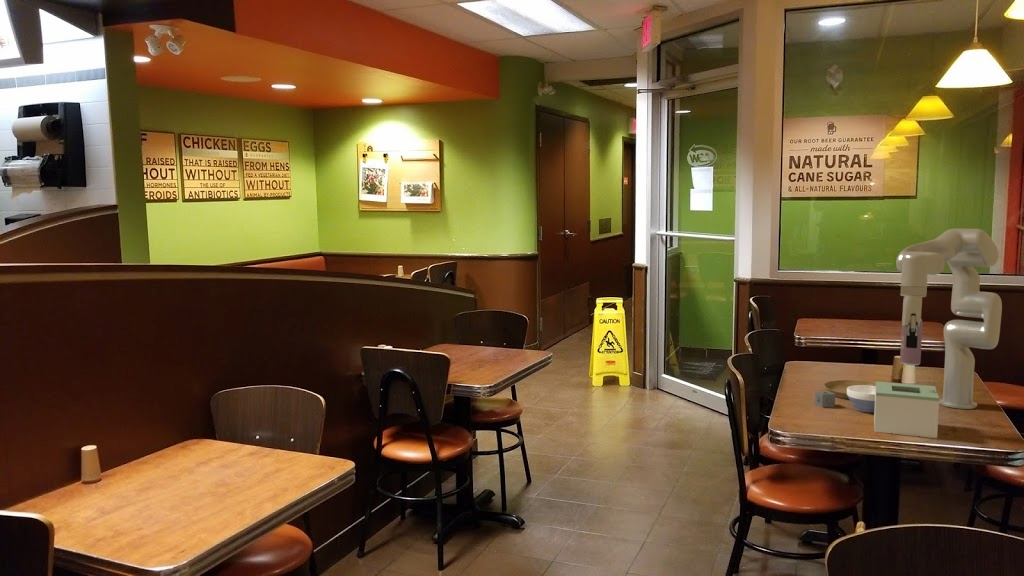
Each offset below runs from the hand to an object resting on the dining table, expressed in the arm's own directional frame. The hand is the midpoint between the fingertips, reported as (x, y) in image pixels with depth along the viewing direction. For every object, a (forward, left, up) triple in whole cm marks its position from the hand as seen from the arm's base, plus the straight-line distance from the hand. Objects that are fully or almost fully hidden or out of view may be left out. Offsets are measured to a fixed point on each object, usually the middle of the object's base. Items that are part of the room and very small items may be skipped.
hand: (910, 345), depth 255 cm
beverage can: (0, 0, -6) cm, 6 cm away
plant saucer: (-44, -16, -28) cm, 54 cm away
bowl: (-20, -12, -28) cm, 36 cm away
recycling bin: (0, -1, -28) cm, 28 cm away
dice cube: (-20, -26, -28) cm, 43 cm away
